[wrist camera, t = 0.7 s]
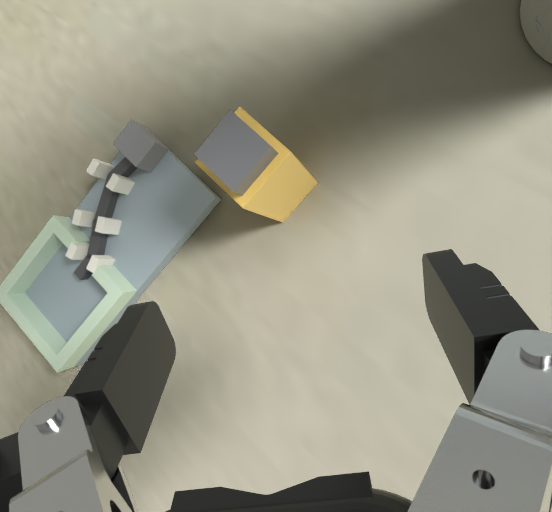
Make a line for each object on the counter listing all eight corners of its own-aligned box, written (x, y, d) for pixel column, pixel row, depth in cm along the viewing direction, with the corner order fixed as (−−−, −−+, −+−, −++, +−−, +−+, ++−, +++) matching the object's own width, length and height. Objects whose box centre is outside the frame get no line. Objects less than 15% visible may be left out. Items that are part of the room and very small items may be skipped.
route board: (149, 127, 34) (126, 114, 31) (222, 197, 32) (205, 191, 29) (23, 291, 37) (-10, 294, 34) (83, 363, 36) (55, 373, 32)
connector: (280, 149, 31) (229, 95, 21) (318, 182, 30) (284, 144, 20) (246, 188, 32) (181, 155, 22) (282, 222, 31) (233, 204, 21)
